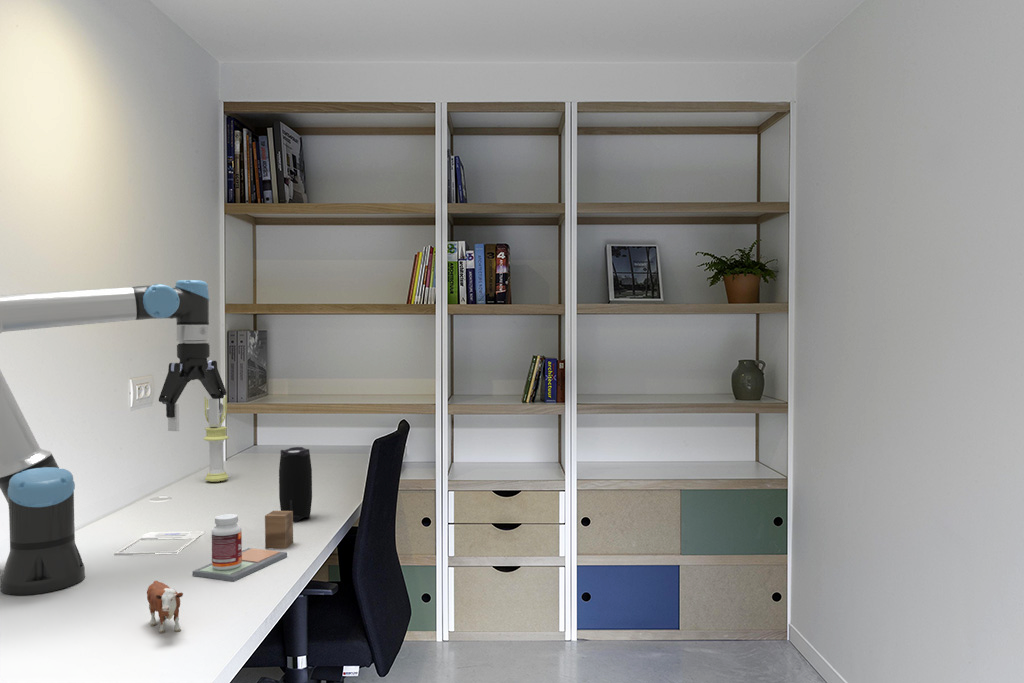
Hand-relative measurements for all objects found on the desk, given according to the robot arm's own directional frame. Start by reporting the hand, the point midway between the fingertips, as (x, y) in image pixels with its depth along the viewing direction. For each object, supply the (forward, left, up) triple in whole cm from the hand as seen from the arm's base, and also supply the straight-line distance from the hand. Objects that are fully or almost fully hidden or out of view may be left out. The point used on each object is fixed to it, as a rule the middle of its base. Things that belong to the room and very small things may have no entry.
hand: (194, 427), depth 189 cm
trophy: (+61, +48, -29) cm, 83 cm away
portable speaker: (+27, -10, -29) cm, 41 cm away
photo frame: (-4, +7, -29) cm, 30 cm away
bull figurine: (-45, -35, -29) cm, 64 cm away
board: (-12, -24, -29) cm, 39 cm away
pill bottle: (-17, -24, -28) cm, 40 cm away
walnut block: (+4, -22, -29) cm, 36 cm away
